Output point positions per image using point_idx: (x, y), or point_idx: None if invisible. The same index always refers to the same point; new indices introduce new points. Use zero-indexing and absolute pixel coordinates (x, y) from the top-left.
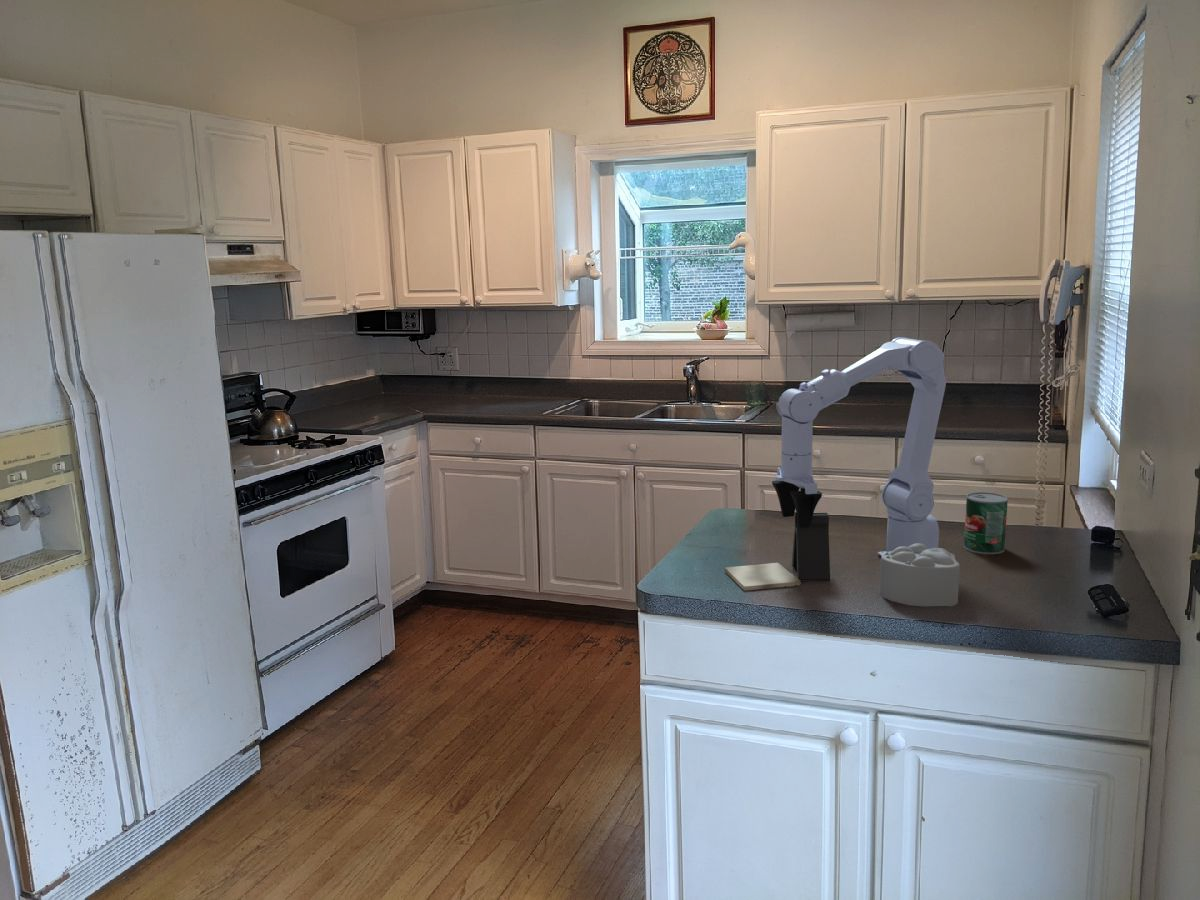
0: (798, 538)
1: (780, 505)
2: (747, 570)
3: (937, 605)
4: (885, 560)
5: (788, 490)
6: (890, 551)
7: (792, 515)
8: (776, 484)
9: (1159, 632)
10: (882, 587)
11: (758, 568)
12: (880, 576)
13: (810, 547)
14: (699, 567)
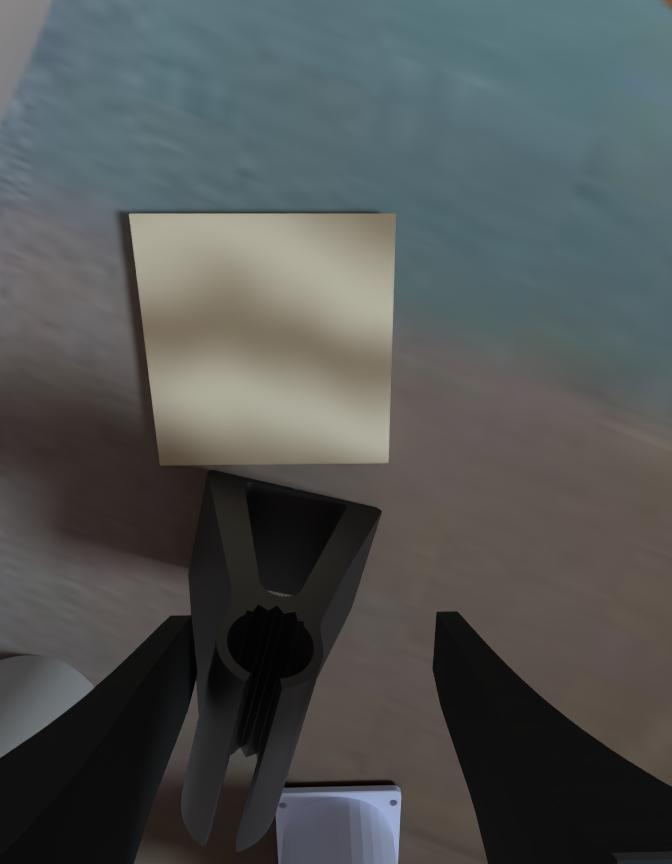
0: (226, 573)
1: (491, 657)
2: (330, 305)
3: None
4: None
5: (516, 858)
6: None
7: (435, 667)
8: (587, 855)
9: None
10: (5, 680)
11: (342, 361)
12: (8, 710)
13: (209, 593)
14: (486, 110)
